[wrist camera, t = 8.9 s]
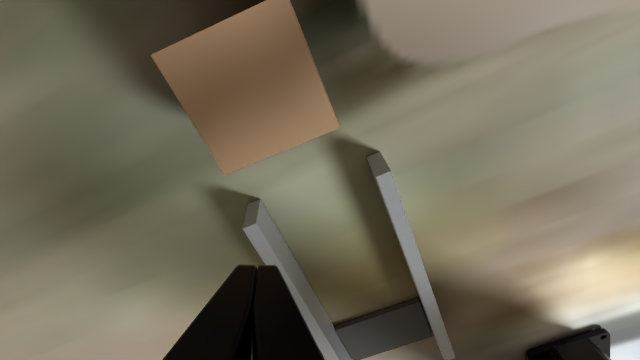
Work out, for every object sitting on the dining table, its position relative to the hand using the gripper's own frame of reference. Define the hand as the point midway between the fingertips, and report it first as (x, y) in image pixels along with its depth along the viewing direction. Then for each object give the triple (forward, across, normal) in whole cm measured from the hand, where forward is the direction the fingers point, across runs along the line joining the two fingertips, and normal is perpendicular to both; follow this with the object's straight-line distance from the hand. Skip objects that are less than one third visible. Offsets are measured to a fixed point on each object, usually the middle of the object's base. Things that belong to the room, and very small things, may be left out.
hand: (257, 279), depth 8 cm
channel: (+11, -6, +10) cm, 17 cm away
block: (+12, +1, -2) cm, 12 cm away
